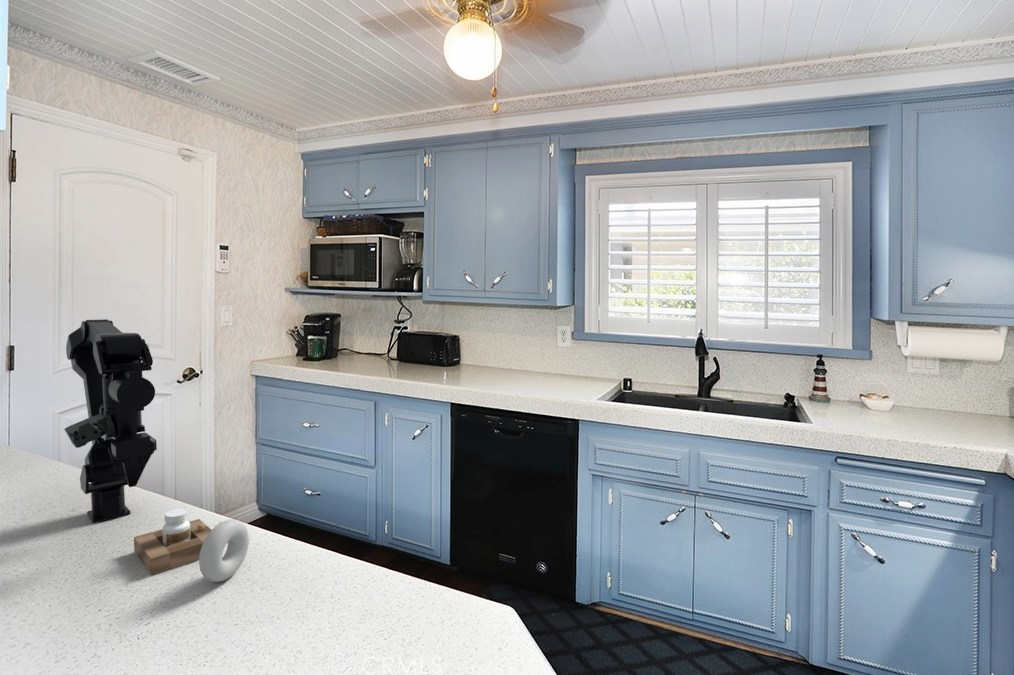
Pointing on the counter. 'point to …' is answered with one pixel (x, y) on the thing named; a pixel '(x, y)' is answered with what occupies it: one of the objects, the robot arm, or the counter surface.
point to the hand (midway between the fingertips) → (126, 479)
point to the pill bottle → (175, 527)
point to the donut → (215, 544)
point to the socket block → (170, 549)
